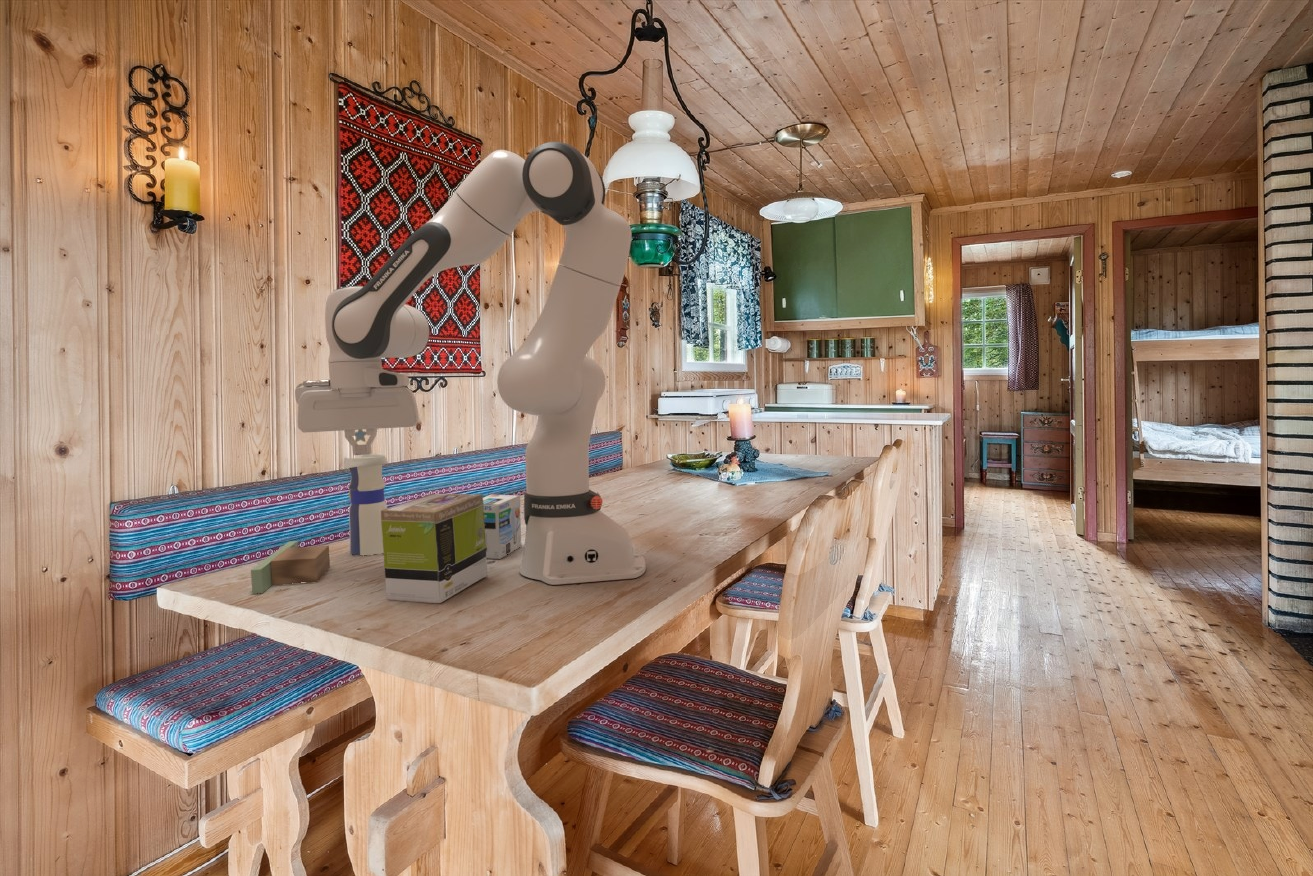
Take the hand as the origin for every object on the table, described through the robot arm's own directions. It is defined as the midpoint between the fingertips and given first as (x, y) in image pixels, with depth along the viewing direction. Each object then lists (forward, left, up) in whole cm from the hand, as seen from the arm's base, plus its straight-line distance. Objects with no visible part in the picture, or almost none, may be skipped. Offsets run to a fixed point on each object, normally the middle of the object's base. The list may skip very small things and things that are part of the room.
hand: (362, 454), depth 125 cm
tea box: (-17, +14, -21) cm, 31 cm away
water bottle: (+4, -12, -21) cm, 24 cm away
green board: (+14, +5, -21) cm, 26 cm away
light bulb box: (-22, -9, -21) cm, 32 cm away
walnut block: (+9, +6, -21) cm, 24 cm away
